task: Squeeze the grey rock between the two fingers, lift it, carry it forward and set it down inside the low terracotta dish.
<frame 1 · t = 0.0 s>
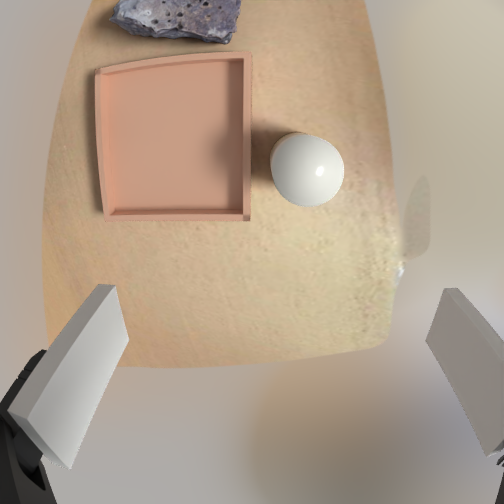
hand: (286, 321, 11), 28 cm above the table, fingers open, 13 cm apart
rock: (184, 11, 28), on the table
white rounded cylinder: (298, 160, 36), on the table
dish: (174, 137, 35), on the table
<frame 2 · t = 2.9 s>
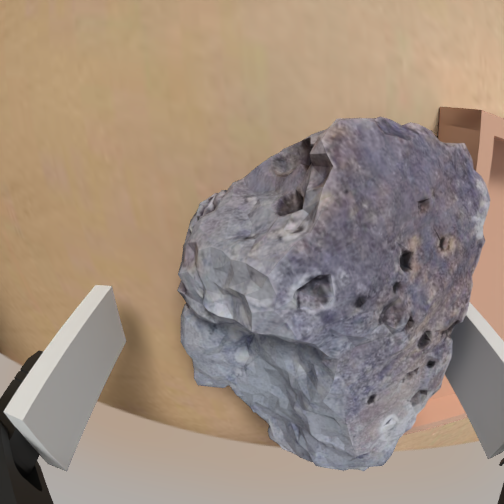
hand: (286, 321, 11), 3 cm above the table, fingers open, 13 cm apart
rock: (306, 275, 14), on the table, touching dish
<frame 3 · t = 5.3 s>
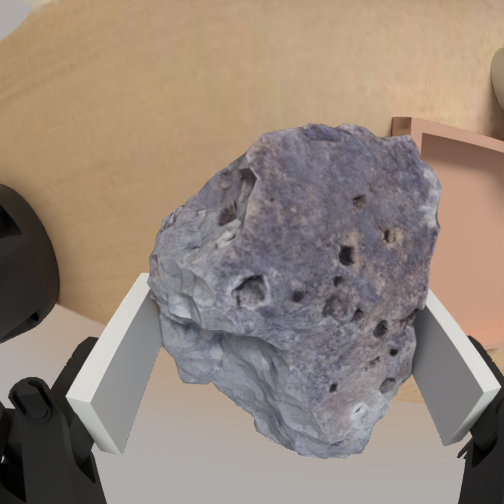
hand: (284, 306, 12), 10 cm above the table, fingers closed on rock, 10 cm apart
rock: (278, 274, 15), point 7 cm above the table, touching gripper
dish: (476, 248, 21), on the table
when the fingers open (4 cm above the table, at t = 9.8 s): rock stays where it is, resting on dish.
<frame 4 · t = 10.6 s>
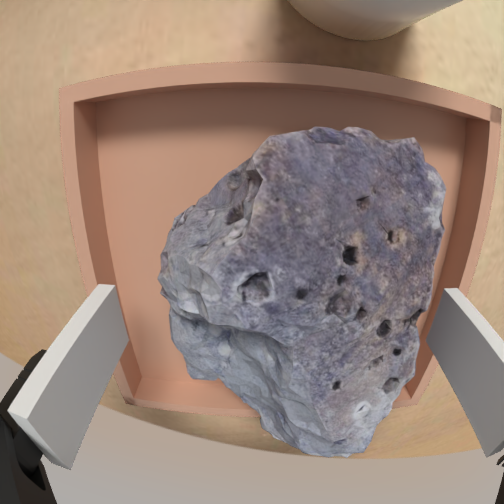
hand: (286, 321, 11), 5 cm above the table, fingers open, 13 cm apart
rock: (287, 274, 15), point 1 cm above the table, touching dish
dish: (283, 261, 16), on the table
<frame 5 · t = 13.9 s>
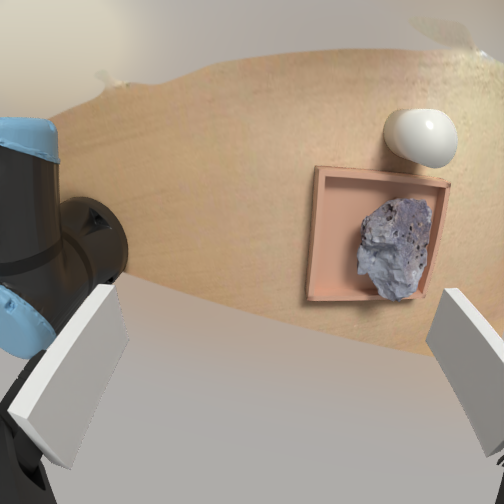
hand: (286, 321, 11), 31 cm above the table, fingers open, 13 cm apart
rock: (382, 238, 42), point 1 cm above the table, touching dish
white rounded cylinder: (405, 133, 36), on the table
dish: (375, 234, 42), on the table
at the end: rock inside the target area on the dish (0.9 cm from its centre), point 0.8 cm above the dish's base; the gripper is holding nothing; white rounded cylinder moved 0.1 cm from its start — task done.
